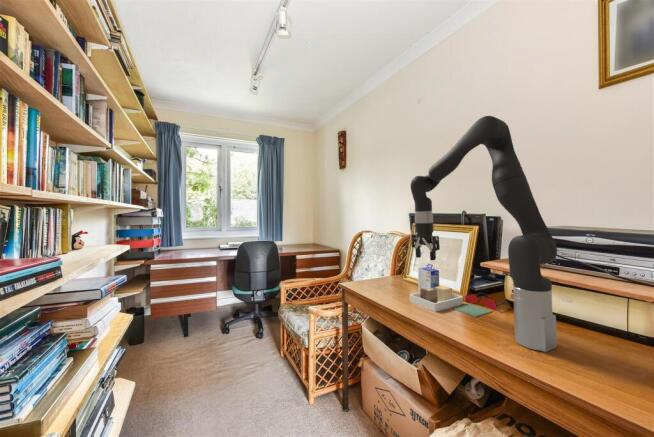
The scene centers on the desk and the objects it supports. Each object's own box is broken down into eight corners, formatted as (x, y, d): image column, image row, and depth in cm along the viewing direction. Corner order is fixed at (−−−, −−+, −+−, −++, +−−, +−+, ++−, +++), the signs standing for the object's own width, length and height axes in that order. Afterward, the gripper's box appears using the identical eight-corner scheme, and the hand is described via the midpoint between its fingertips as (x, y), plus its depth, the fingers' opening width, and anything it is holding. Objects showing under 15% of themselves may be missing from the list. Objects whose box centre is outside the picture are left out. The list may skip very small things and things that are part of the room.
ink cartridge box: (440, 294, 129) (439, 265, 129) (431, 296, 127) (430, 266, 127) (426, 289, 138) (425, 262, 138) (418, 291, 137) (417, 263, 136)
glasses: (463, 303, 118) (463, 292, 118) (485, 296, 125) (485, 285, 125) (496, 313, 105) (495, 300, 105) (518, 304, 113) (518, 293, 113)
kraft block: (452, 301, 119) (451, 288, 118) (444, 303, 116) (443, 289, 116) (443, 298, 123) (442, 285, 123) (435, 300, 121) (434, 287, 121)
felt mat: (492, 312, 105) (492, 311, 105) (475, 317, 101) (475, 316, 100) (469, 305, 114) (469, 303, 114) (453, 309, 110) (452, 308, 110)
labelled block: (437, 305, 115) (437, 289, 115) (429, 307, 113) (428, 291, 113) (428, 301, 119) (428, 286, 119) (420, 303, 117) (420, 288, 117)
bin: (462, 304, 115) (462, 296, 115) (435, 312, 108) (434, 303, 107) (436, 295, 128) (435, 288, 128) (409, 302, 121) (409, 294, 121)
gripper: (443, 221, 110) (444, 260, 110) (419, 221, 123) (420, 255, 123) (429, 222, 107) (431, 262, 107) (406, 222, 120) (407, 257, 120)
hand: (425, 258), depth 115 cm, fingers open, 8 cm apart
